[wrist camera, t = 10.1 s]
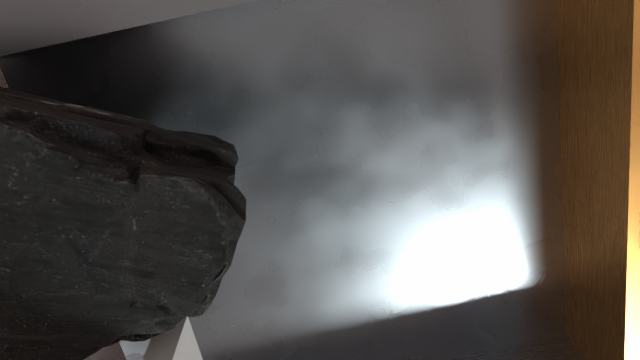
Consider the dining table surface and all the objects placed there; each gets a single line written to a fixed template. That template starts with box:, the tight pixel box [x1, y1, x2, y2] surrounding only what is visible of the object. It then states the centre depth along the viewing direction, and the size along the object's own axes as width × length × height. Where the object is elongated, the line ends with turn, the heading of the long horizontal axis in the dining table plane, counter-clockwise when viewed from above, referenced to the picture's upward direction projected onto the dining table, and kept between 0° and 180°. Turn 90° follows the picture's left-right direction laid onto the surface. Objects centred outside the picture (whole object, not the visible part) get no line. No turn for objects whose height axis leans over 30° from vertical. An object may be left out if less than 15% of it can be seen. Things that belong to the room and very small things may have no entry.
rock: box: [0, 87, 246, 360], centre depth 11 cm, size 11×8×10 cm
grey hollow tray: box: [0, 0, 640, 360], centre depth 16 cm, size 18×17×5 cm
